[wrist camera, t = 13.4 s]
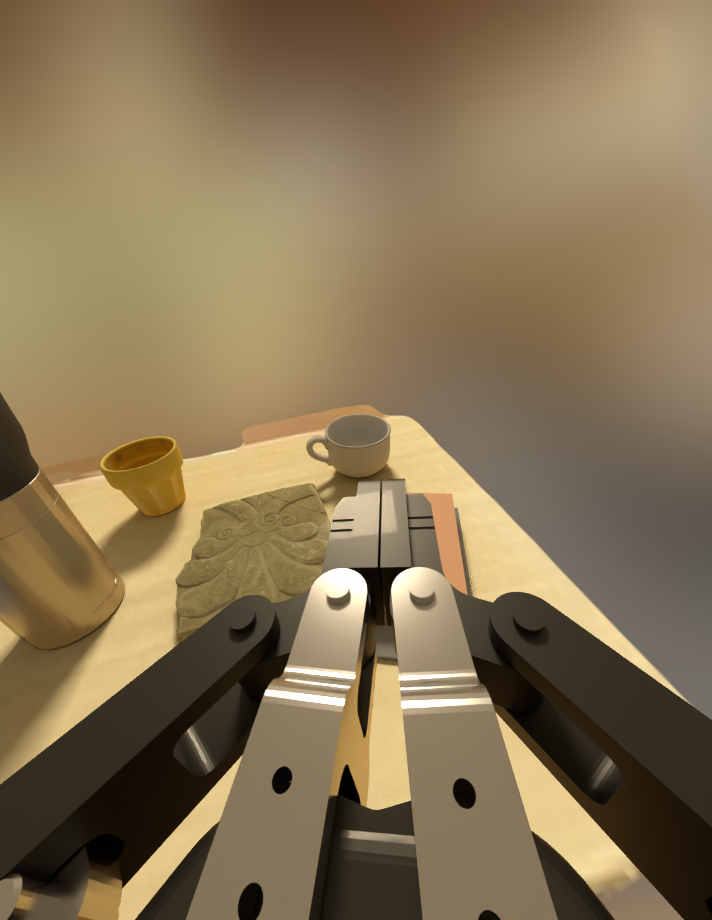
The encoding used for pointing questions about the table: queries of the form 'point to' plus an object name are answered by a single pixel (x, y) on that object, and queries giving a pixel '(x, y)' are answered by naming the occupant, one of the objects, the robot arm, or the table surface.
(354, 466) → the teacup
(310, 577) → the decorative tile
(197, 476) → the table surface
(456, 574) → the terracotta tile
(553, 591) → the table surface
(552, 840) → the table surface
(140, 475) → the plant pot
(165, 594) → the table surface
